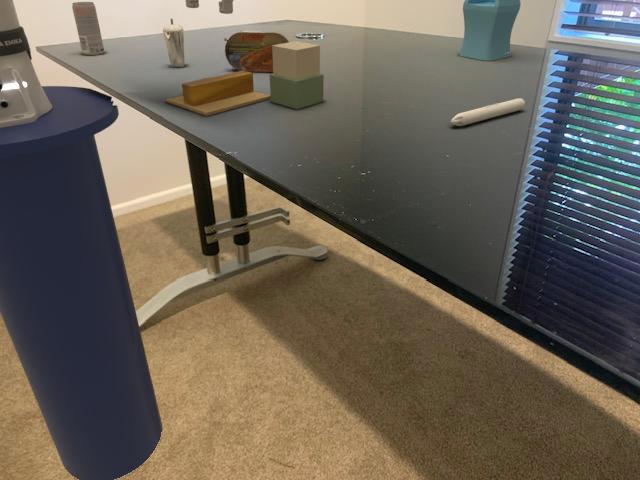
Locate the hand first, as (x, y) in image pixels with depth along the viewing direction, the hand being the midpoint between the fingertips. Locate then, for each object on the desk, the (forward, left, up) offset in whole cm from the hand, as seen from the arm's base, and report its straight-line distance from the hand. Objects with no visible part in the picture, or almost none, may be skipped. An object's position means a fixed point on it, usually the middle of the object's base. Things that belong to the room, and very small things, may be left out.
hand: (209, 10), depth 87 cm
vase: (+74, -16, -16) cm, 77 cm away
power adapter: (+32, +30, -16) cm, 46 cm away
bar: (+1, 0, -15) cm, 15 cm away
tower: (+10, -11, -16) cm, 21 cm away
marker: (+25, -42, -16) cm, 51 cm away
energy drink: (+5, +59, -16) cm, 61 cm away
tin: (+22, +13, -16) cm, 30 cm away
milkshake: (+12, +31, -16) cm, 37 cm away
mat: (0, 0, -16) cm, 16 cm away
